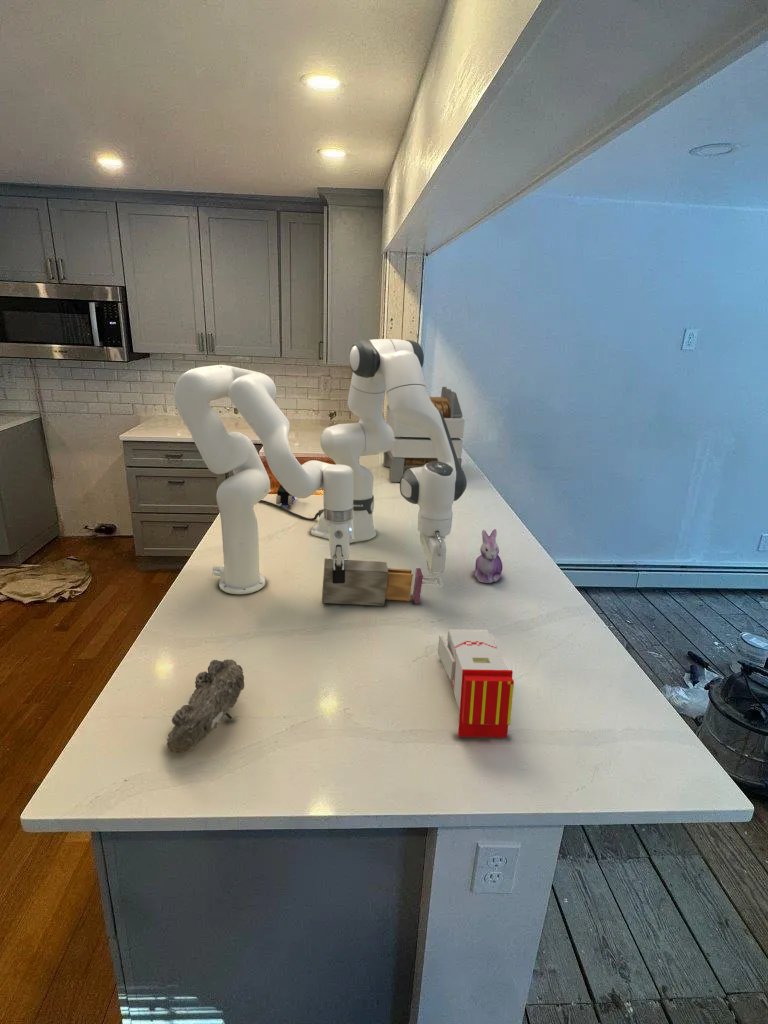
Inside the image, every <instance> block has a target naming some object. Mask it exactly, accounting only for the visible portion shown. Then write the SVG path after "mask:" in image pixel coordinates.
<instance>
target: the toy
mask: <svg viewBox="0 0 768 1024" xmlns="http://www.w3.org/2000/svg"><path fill="white" fill-rule="evenodd" d="M446 640H447V643H446V641H445V639H444V636H443V635H442V634H439V637H438V646H437V656H438V657H439V659H440V661H441V663H442V666H443V668H444V670H445V672H446V674H447V677H448V679H449V681H450V684H451V687H452V690H453V693H454V697H455V701H456V705H457V708H458V711H459V714H458V715H459V716H458V730H457V731H458V732H457V737H458V738H508V731H509V726H510V725H511V717H512V707H513V697H514V696H513V695H514V684H515V680H514V679H513V673H514V671H513V670H512V669H508V667H507V665H506V662H505V661H504V659H503V658H502V655H501V653H500V651H499V649H498V647H497V643H496V639H495V637H494V635H493V634H491V632H490V631H489V629H467V628H466V629H465V628H463V629H461V628H460V629H459V628H448V630H447V639H446Z"/></svg>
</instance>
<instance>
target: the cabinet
mask: <svg viewBox="0 0 768 1024" xmlns="http://www.w3.org/2000/svg"><path fill="white" fill-rule="evenodd" d="M323 562H324V563H323V575H322V576H323V577H322V586H321V603H322V604H341V605H357V606H358V605H360V606H377V607H378V606H379V607H385V602H386V599H385V596H386V587H387V579H388V568H389V567H388V564H387V561H372V560H356V559H344V569H345V583H337V584H334V583H333V572H332V569H333V559H331V558H324V561H323ZM335 563H336V560H335ZM341 563H342V560H341Z"/></svg>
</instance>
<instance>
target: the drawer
mask: <svg viewBox="0 0 768 1024" xmlns="http://www.w3.org/2000/svg"><path fill="white" fill-rule="evenodd" d="M387 568H388V579H387V587H386V596H385V600H390V601H391V600H392V601H407V602H408V601H410V599H411V592H412V598H413V601H414V604H417V605H419V604H420V601H421V593H422V586H423V585H435V586H436V585H438V587H442V586H443V581H442V578H441V576H439V575H437V576H424V575H423V572H422V569H421V567H416V568H415V573H414V574H415V575H414V574H413V573H412V572H413V570H412V569H406V568H405V569H404V568H389V567H387ZM413 578H414V580H413ZM413 581H414V582H413ZM412 584H413V590H412Z"/></svg>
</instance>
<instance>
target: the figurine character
mask: <svg viewBox="0 0 768 1024" xmlns="http://www.w3.org/2000/svg"><path fill="white" fill-rule="evenodd" d="M275 499H276V500H275V504H276V505H280V506H281V507H283V506H285V507H287V509H290V508H291V506H292V505H293V503H294V502H295V501H296V497H294V496H292V495H290V494H289V493H288V492H287V491H286V490H285V489H284V488H283V486H282V485H281V484H280V485H279V487H278V489H277V494H276V498H275ZM283 508H284V507H283Z"/></svg>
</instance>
